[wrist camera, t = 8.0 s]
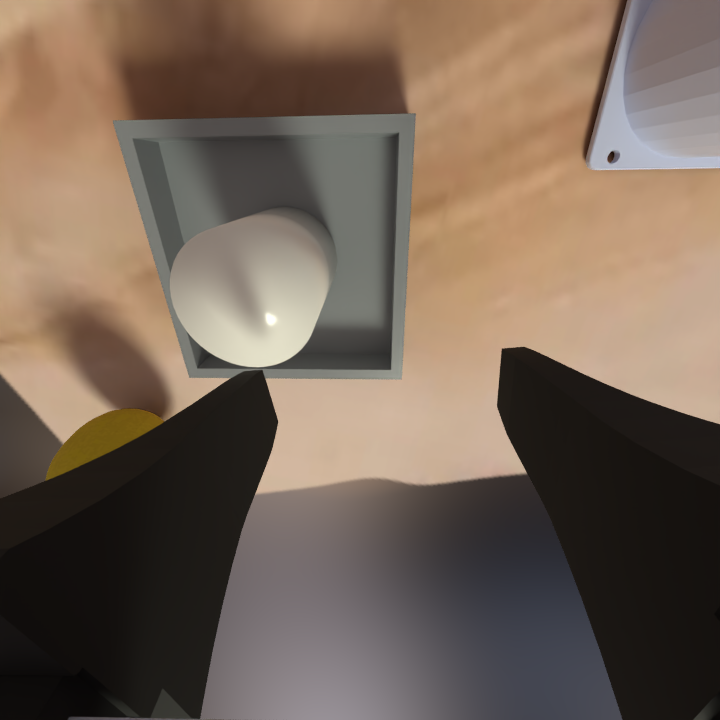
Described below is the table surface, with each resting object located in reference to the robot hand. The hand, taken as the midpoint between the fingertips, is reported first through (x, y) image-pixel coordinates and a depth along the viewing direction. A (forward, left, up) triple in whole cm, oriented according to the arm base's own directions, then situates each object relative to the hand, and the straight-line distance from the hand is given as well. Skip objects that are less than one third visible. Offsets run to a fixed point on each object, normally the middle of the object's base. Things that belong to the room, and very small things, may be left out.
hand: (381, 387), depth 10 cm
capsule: (+5, -2, -9) cm, 11 cm away
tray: (+5, -2, -10) cm, 11 cm away
